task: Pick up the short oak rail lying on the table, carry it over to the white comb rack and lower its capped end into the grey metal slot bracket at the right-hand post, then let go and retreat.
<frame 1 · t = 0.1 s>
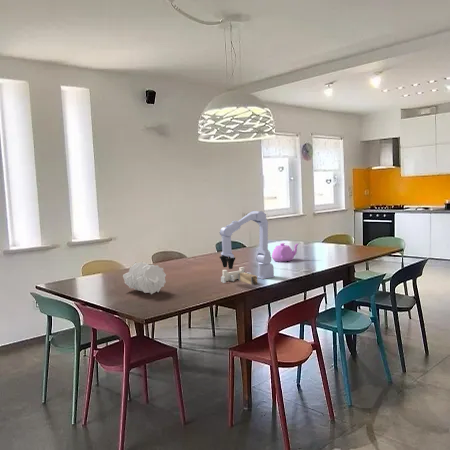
hand: (227, 268, 291), 10 cm above the table, tool pointing down, fingers open, 7 cm apart
rail: (248, 282, 294), on the table
white comb rack: (233, 279, 305), on the table
teapot: (286, 260, 367), on the table
white faceted lump: (145, 292, 282), on the table
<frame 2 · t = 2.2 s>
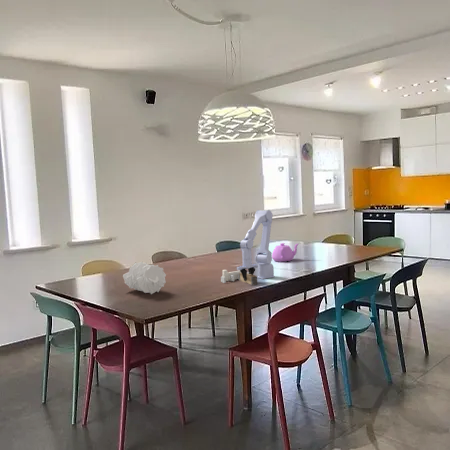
hand: (248, 280, 294), 1 cm above the table, tool pointing down, fingers closed on rail, 4 cm apart
rail: (248, 282, 294), on the table, touching gripper
everything else where it was.
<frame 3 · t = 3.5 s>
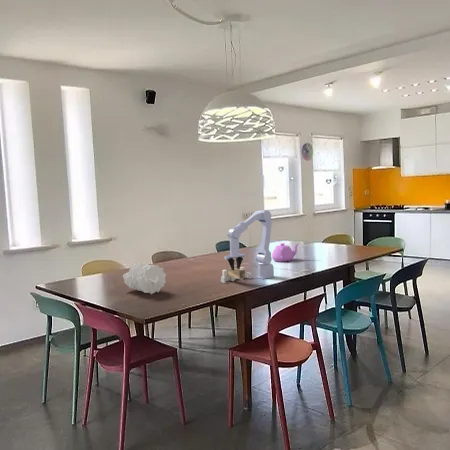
hand: (235, 269, 293), 9 cm above the table, tool pointing down, fingers closed on rail, 4 cm apart
rail: (236, 277, 293), point 4 cm above the table, touching gripper
everything else where it was.
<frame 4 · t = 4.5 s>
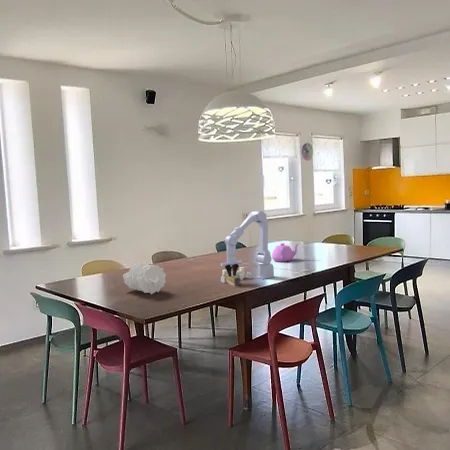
hand: (232, 276, 293), 4 cm above the table, tool pointing down, fingers closed on rail, 3 cm apart
rail: (231, 284, 293), on the table, touching gripper
everything else where it was.
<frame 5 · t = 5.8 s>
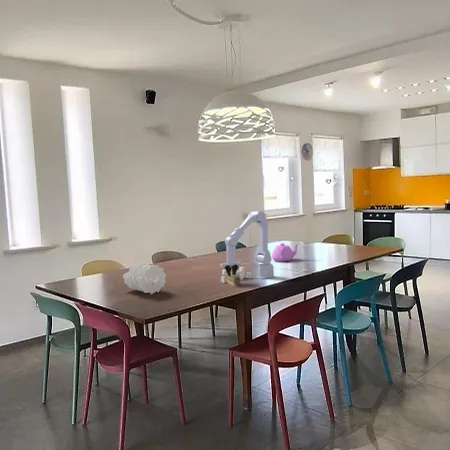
hand: (231, 277, 293), 4 cm above the table, tool pointing down, fingers closed on rail, 3 cm apart
rail: (231, 283, 293), on the table, touching gripper, white comb rack
everything else where it was.
when the fingers open (4 cm above the table, at t = 6.5 s): rail stays where it is, on the table.
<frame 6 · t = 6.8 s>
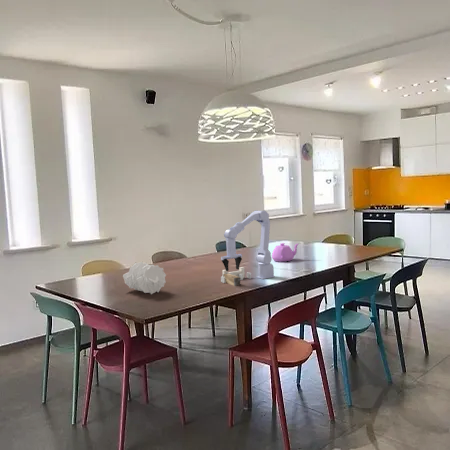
hand: (232, 270, 293), 8 cm above the table, tool pointing down, fingers open, 7 cm apart
rail: (231, 283, 293), on the table
everything else where it was.
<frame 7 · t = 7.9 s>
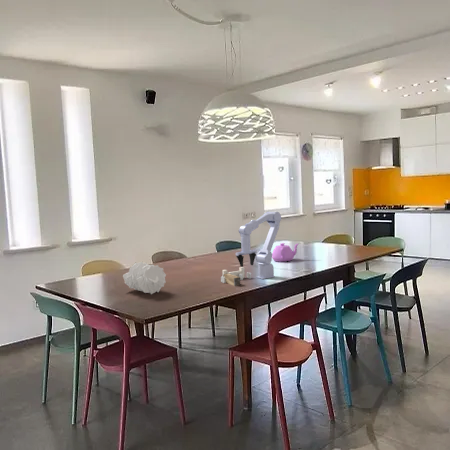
hand: (246, 265, 296), 10 cm above the table, tool pointing down, fingers open, 7 cm apart
nothing on the table moved.
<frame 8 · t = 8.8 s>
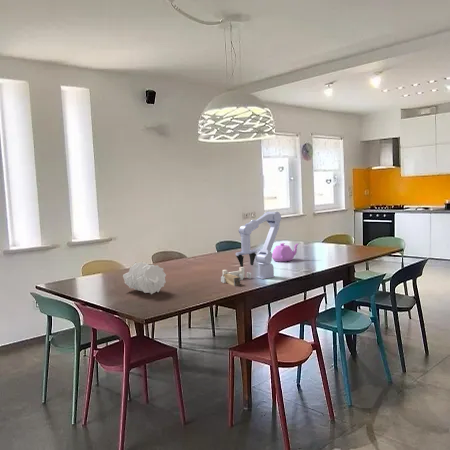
hand: (246, 265, 296), 10 cm above the table, tool pointing down, fingers open, 7 cm apart
nothing on the table moved.
at the end: rail 0.9 cm from the target spot on the table beside the white comb rack, on the table; rail tilted 0°; the gripper is holding nothing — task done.
